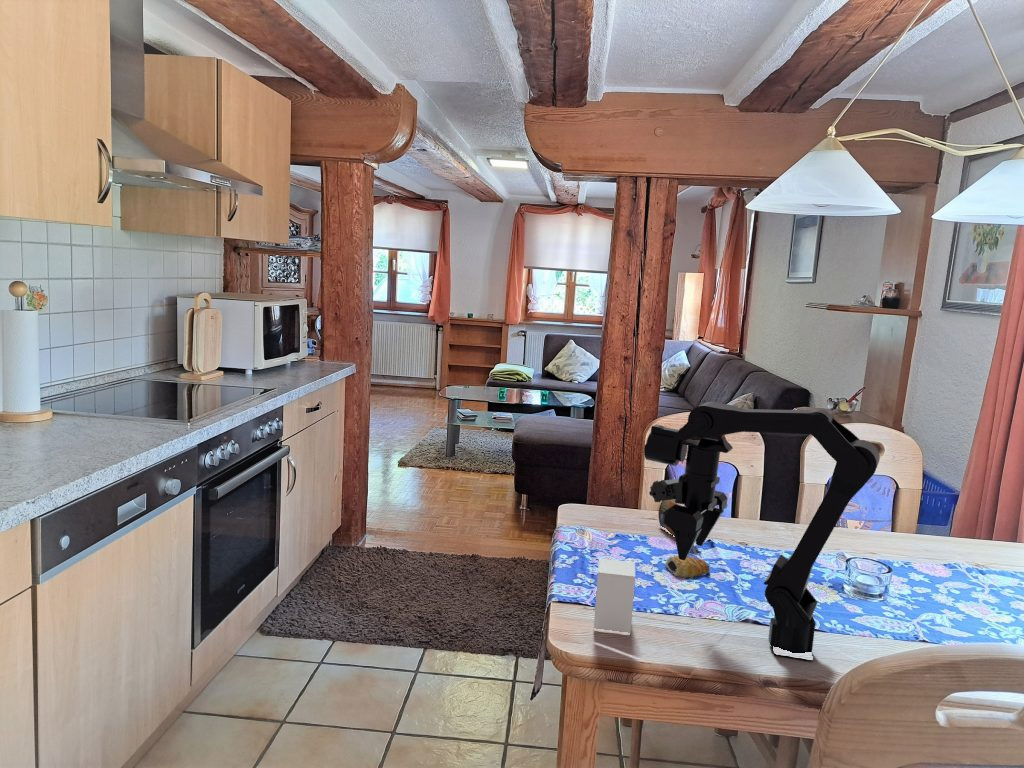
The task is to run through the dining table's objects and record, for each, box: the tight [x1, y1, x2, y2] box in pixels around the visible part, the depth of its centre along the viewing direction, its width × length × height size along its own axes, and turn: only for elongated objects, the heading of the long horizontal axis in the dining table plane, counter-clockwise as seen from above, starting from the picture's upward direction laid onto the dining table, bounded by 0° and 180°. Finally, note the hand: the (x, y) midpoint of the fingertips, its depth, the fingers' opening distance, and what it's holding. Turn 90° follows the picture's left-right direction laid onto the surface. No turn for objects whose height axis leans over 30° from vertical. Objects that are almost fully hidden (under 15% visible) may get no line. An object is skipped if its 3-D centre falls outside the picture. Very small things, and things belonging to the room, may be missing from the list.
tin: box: [657, 499, 686, 535], centre depth 180 cm, size 15×3×8 cm, turn 17°
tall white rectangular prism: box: [593, 558, 636, 634], centre depth 130 cm, size 6×6×12 cm
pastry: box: [664, 555, 710, 578], centre depth 158 cm, size 9×7×4 cm
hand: (690, 552), depth 134 cm, fingers open, 9 cm apart
